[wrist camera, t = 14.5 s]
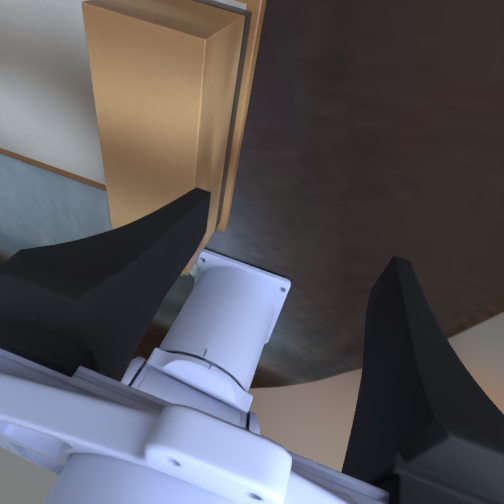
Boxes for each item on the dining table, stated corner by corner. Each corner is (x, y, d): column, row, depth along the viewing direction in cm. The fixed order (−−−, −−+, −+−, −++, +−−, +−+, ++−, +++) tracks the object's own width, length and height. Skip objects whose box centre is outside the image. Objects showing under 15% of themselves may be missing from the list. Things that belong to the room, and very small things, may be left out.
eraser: (220, 221, 26) (187, 274, 22) (156, 199, 26) (113, 247, 23) (252, 11, 17) (205, 39, 13) (153, -18, 17) (80, 1, 13)
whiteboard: (227, 225, 27) (222, 234, 27) (-4, 144, 29) (-14, 149, 29) (269, -14, 17) (263, -10, 16) (-98, -118, 19) (-117, -119, 18)
